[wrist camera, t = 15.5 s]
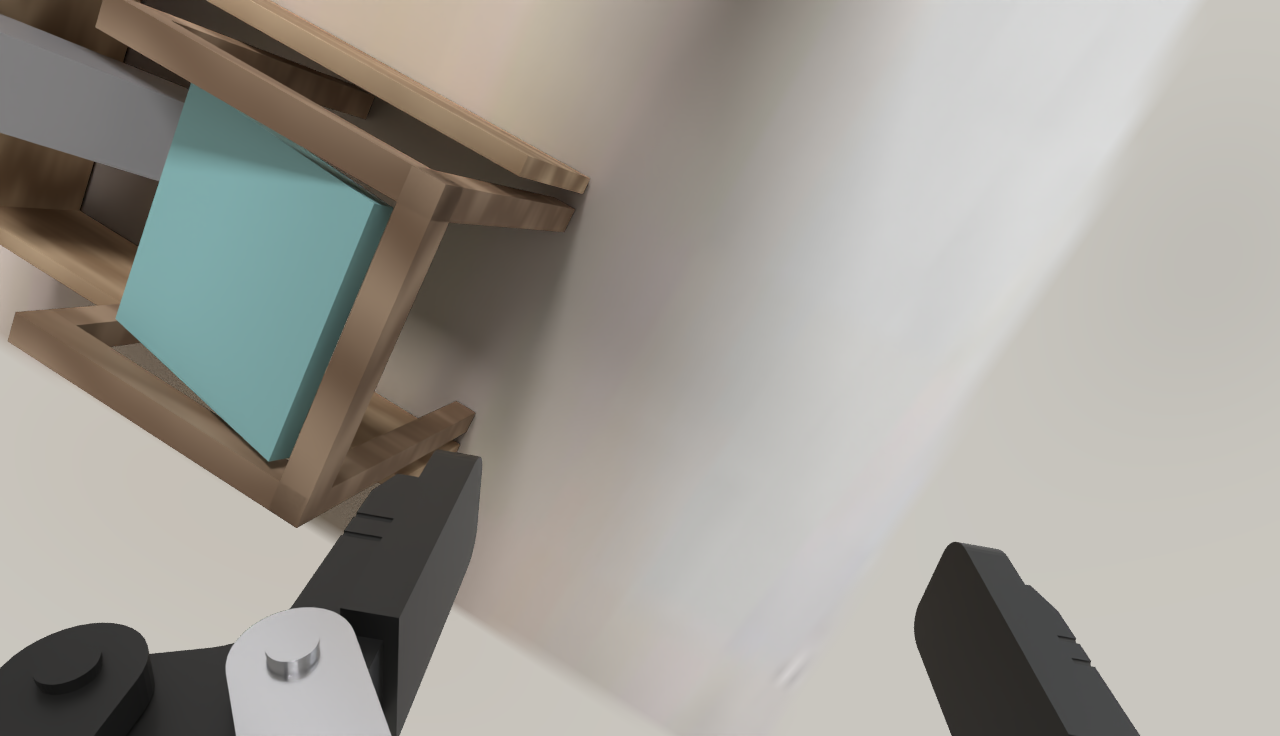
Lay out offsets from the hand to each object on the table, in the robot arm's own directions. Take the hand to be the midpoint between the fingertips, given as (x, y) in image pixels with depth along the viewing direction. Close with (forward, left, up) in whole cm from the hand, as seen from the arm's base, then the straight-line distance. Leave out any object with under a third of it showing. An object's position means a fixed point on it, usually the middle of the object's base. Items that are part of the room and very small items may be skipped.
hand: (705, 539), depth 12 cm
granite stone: (+7, -43, -19) cm, 48 cm away
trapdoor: (+7, -21, -15) cm, 27 cm away
